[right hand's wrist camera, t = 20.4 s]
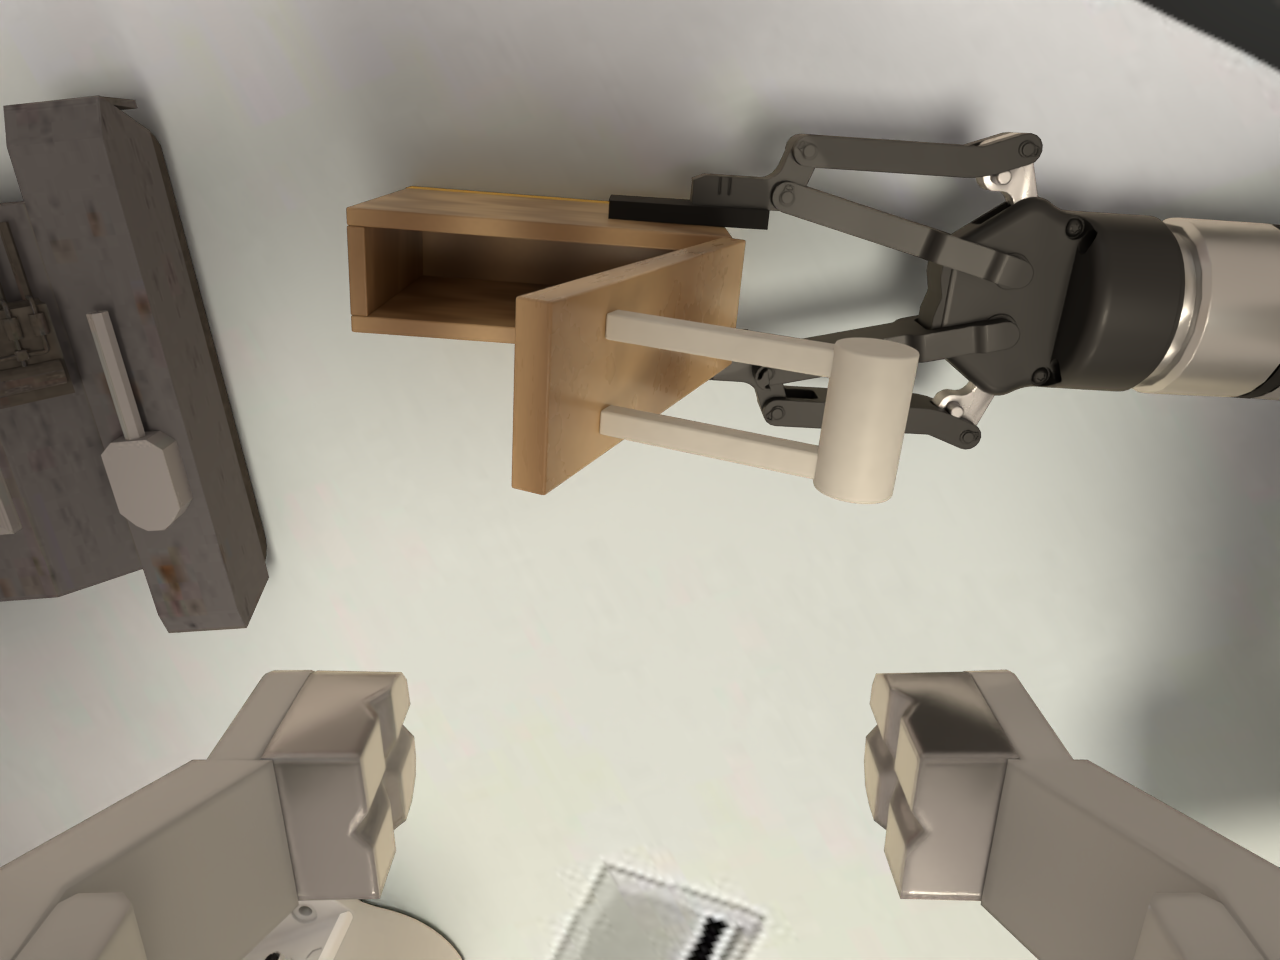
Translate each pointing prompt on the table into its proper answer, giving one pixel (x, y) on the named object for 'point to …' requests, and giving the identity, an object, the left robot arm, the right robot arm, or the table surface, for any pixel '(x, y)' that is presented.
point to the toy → (113, 381)
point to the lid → (691, 377)
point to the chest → (484, 256)
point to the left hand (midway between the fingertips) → (607, 273)
